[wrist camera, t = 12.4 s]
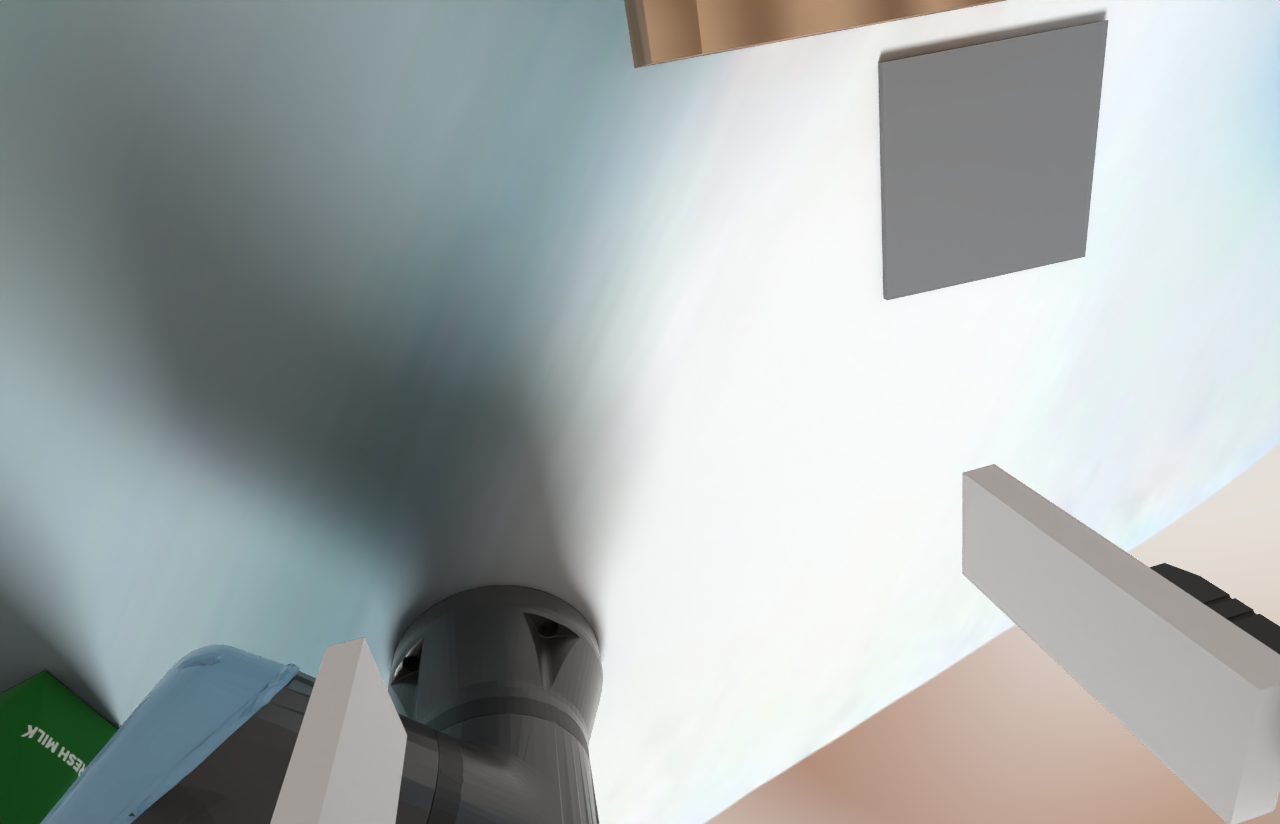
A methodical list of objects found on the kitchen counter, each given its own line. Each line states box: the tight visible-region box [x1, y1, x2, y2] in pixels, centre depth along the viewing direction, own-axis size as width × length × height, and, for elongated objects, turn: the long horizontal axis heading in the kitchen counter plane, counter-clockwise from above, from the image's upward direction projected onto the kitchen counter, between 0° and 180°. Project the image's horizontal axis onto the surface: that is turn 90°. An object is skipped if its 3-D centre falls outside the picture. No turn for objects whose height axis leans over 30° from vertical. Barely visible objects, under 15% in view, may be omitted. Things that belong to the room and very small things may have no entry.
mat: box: [878, 20, 1108, 300], centre depth 44 cm, size 14×14×1 cm
